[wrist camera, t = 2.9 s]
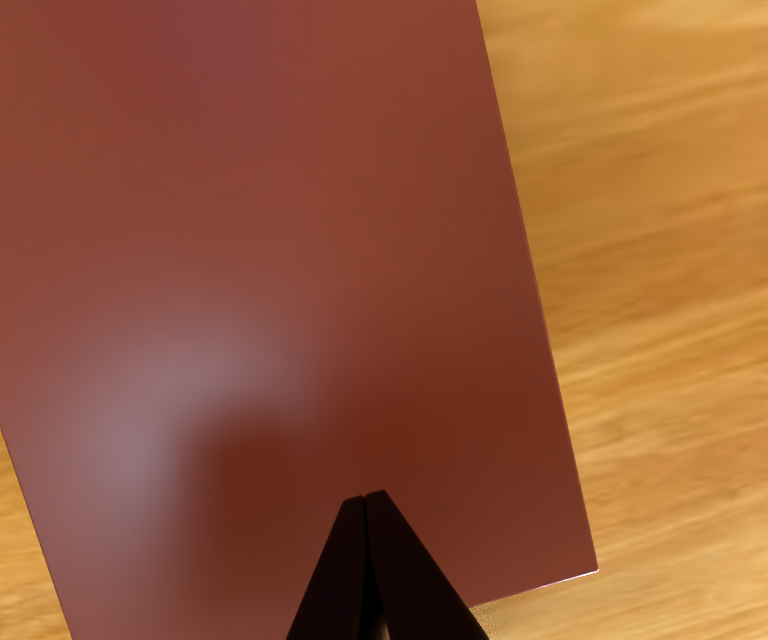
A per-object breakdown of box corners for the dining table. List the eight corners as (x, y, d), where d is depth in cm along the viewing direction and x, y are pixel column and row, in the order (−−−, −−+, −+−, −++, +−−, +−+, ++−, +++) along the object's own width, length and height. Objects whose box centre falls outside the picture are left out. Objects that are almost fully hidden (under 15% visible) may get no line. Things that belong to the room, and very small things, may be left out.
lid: (583, 551, 11) (601, 572, 10) (116, 683, 10) (96, 715, 9) (442, -91, 9) (450, -126, 9) (-102, 26, 9) (-149, 0, 8)
